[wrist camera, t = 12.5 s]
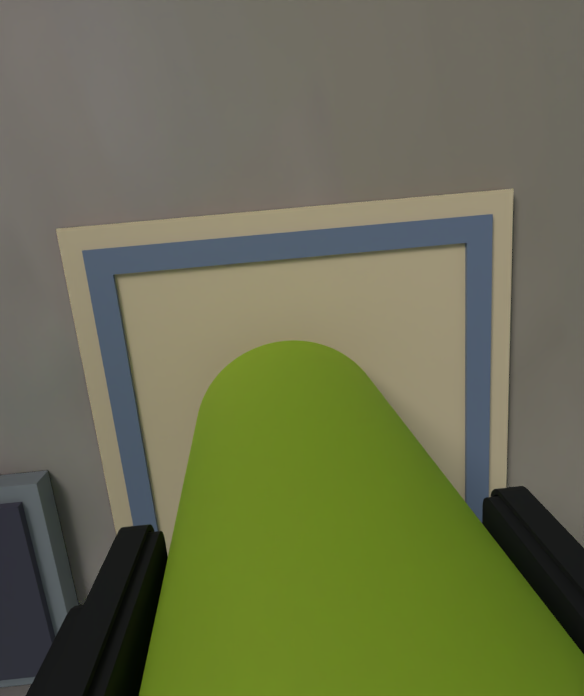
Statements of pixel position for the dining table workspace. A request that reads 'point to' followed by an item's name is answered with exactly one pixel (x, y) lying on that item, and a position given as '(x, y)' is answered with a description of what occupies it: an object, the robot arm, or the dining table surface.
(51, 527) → the ink pad
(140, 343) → the card sheet
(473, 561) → the soap dispenser
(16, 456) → the dining table surface
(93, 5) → the dining table surface
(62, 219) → the dining table surface
